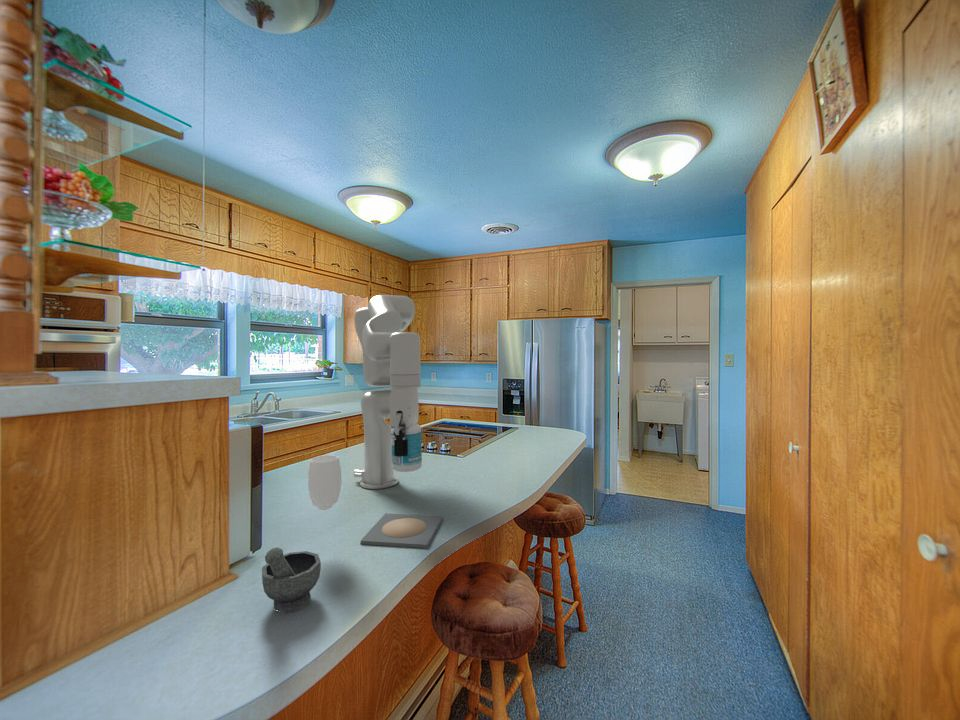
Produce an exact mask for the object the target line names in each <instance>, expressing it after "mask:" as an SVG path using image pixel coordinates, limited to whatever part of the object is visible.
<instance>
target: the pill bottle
mask: <svg viewBox="0 0 960 720" xmlns="http://www.w3.org/2000/svg"><path fill="white" fill-rule="evenodd" d="M415 419H416V418H415V417H414V421H415ZM400 426H403V427H405V425H400ZM402 432H403V433H404V430H402ZM406 439H408V455H407V456H395V455H394V430H393V428H392V429H391V445H392V468H393V471H396V472H401V473H408V472H414V471H417V470H419V469H420V468H422V465H423V464H422V463H423V459H422V456H423V455H422V453H423V452H422V427H421V425H420V424H419V423H418V422H417V423H415V422H414V423H413V425H412V426H411V427H410V428H408V429H407V437H406Z"/></svg>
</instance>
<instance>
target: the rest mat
mask: <svg viewBox="0 0 960 720" xmlns="http://www.w3.org/2000/svg"><path fill="white" fill-rule="evenodd" d="M382 515H383V516H381V517H380V518H379V519H378V521H377V522H376V523H375V524H374V525H373V526H372V527H371V529H370V530H369V531H368V532H367V533H366V534H365V535H364V536H363V537H362V538H361V540H360V545H370V546H386V547H403V548H404V547H405V548H417V549H418V548H419V549H428V547H429V545H430V543H432V542H431V541H432V540H433V538H434V536H435V534H436V532H437V531H438V529H439V527H440V525H441V523H442V522H443V520H442V519H444V517H443V515H442V516H441V515H425V514H405V513H387V512H386V513H384V514H382Z"/></svg>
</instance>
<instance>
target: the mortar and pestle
mask: <svg viewBox="0 0 960 720" xmlns="http://www.w3.org/2000/svg"><path fill="white" fill-rule="evenodd" d="M264 561H265V563H266V564H265V565H263V566H262V567H261V579H262V581H261V582H262V587H263V592H264V593H265V595H266V596H267V597H268V598H269V599H270V600H272V601H273V610H274V609H275V610H278V611H280V612H282V613H281V614H284V613H283V612H288V613H294V611H295V612H296V611H298V610H301V609H302V608H303V609H304V608H305V607H306V606H307V605H308V604H309V603H310V601H311V598H312V596H311V591H312V590H313V589H314V587H315V586H316V585H317V583H318V581H319V579H320V575H321V566H322V565H321V559H320V556H319V554H318V553H315V552H311V551H307V550H306V551H303V550H302V551H295V552H287V553H285V554H284V551H283V549H282V548H280V547H278V546H277V547H274V548H271V549H269V550H268V551H267V552H266V554H265V556H264ZM300 608H301V609H300ZM275 610H274V611H275ZM280 612H279V613H280Z"/></svg>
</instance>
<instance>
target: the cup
mask: <svg viewBox="0 0 960 720" xmlns="http://www.w3.org/2000/svg"><path fill="white" fill-rule="evenodd" d="M308 463H309V464H308V471H307V489H308V493H309V499H310V501H311V503H312V505H313V506H314V507H316V508H317V509H319V510H321V511H327V510H329V509H331V508H332V507H333V505H335V504H336V503H337V502H338V501H339V497H340V494H341V490H342V489H341V488H342V467H341V464H340V463H341V462H340V457H339V456H337V455H331V454H328V455H325V454H324V455H318V456H315V457H312V458H311V459H310V460H309V462H308Z"/></svg>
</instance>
